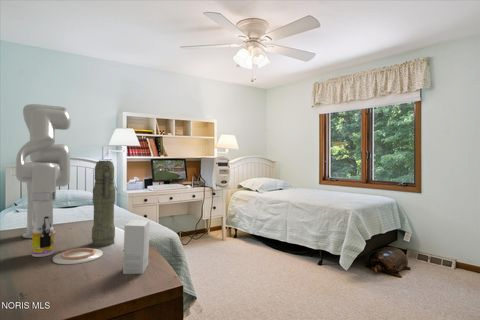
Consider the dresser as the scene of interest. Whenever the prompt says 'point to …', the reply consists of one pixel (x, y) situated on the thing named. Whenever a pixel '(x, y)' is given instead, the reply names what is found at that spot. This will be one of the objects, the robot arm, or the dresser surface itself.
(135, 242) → the skincare box
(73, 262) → the ring stand
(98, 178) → the olive tall rounded piece
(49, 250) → the supplement bottle
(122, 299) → the dresser surface
